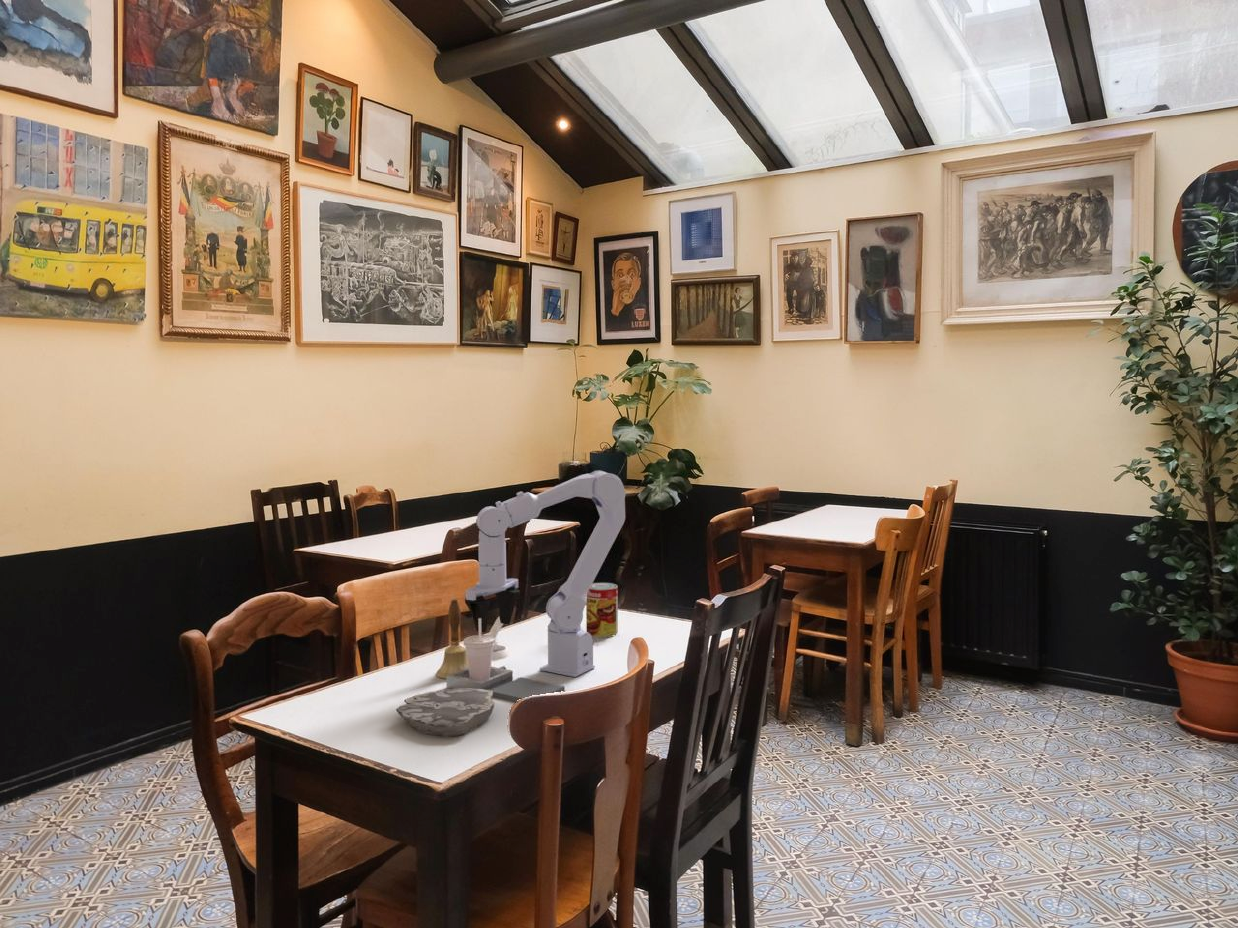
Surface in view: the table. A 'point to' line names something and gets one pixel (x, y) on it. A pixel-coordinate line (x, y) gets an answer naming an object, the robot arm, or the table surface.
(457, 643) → the hand bell
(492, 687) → the holder
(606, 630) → the canned food
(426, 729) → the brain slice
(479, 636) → the smoothie
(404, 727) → the table surface
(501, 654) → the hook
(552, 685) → the mat
